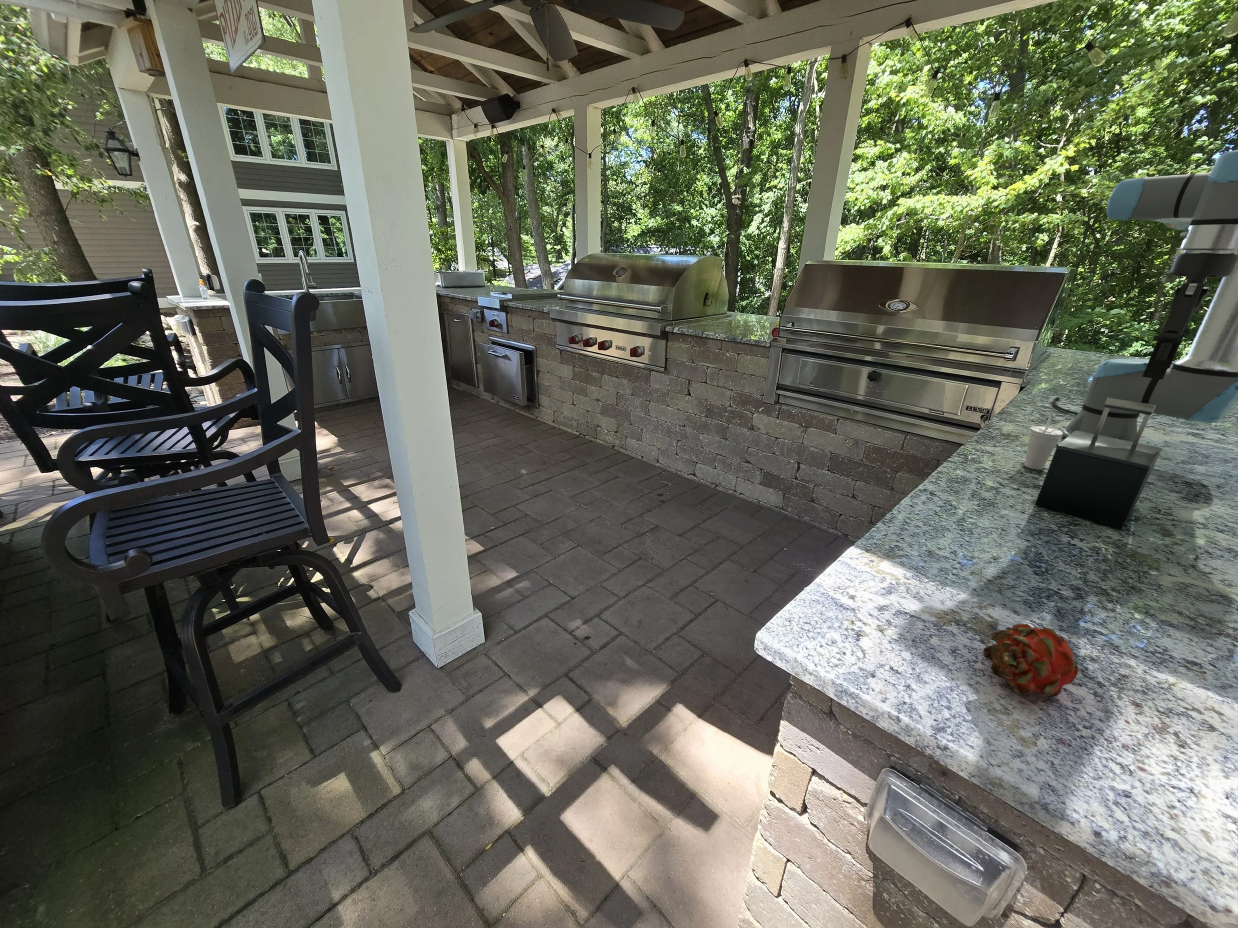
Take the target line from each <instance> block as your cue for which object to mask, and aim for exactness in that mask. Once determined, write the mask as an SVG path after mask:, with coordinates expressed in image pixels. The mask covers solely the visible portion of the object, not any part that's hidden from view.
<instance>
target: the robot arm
mask: <svg viewBox="0 0 1238 928" xmlns="http://www.w3.org/2000/svg"><path fill="white" fill-rule="evenodd" d="M1107 202H1108V203H1107V206H1106V218H1108V219H1109V220H1112V221H1124V222H1125V221H1139V220H1141V221H1150V222H1158V223H1162V224H1163V225H1164V226H1166V227H1167V228H1170V229H1172V230H1177V231H1182V232H1181V233H1180V234H1179V237H1180V238H1182V239H1183V238H1184V239H1183V240H1182V241H1181V245H1180V247H1179V249H1180V250H1181V251H1182V253H1178V255H1176V256H1175V258H1174V261H1173V263H1172V265H1171V268H1170V269H1169V275H1170V276H1174V277H1187V278H1186V281H1185V282H1182V284H1181V285H1180V286H1176V289H1175V291H1174V294H1173V299H1172V301H1171V303H1170V306H1169V310H1170V312H1169V316H1168V317H1167V319H1166V321H1165V324H1164V326H1163V328H1162V331H1161V332H1160V333H1159V334H1158V335H1154V336H1153V337H1152V341H1153V342H1155V345H1154V348H1153V350H1152V353H1151V355H1150V358H1113V359H1112V358H1111V359H1106V360H1104V361H1102V362H1101V363H1099V365H1098V366H1097V368H1096V370H1095V373H1094V375H1092V380H1091V383H1090V385H1089V388H1088V390H1087V393H1086V396H1085V399H1084V401H1083V404H1082V407H1081V409H1080V410H1079V412H1076V411H1073V410H1069V409H1066V408H1064V407H1061V406H1059V405H1058V404H1057V403H1056V402H1057V401H1060V396H1055V398H1053V400H1052V403H1051V404H1052V405H1053V407H1055V408H1056V409H1058V410H1060V411H1062V412H1065V413H1067V414H1071V415H1075V416H1074V418H1072V420H1071V421H1070V422H1069V423H1068V424H1067V425H1066V427H1065V428H1064V431H1063V435H1062V437H1064V439H1066V438H1067V437H1068V436H1069V435H1070V434H1072V433H1073V432H1074V431H1075V430H1076V431H1081V432H1086V433H1091V434H1094V433H1095V431H1096V428H1097V426H1098V423H1099V421H1100V418H1101V416H1102V414H1103V411H1104V409H1105V407H1104V405H1105V403H1106V400H1107V399H1108V398H1113V399H1119V400H1126V401H1132V402H1138V403H1144V404H1150V405H1156V407H1155V409H1154V411H1153V413H1152V415H1160V416H1165V417H1171V418H1175V419H1176V418H1177V419H1181V420H1186V421H1187V422H1196V423H1198V422H1199V423H1203V424H1213V423H1217V422H1218V421H1220V420H1221V419H1223V418H1224V416H1225V415H1226V414H1227V413H1228V411H1230V409H1231V408H1232V407H1233V405H1235V403H1236V402H1237V401H1238V149H1236V150H1231V151H1227V152H1224V153H1222V154H1221V155H1220V156H1219V157H1217V159H1216V161H1215V163H1214V165H1213V167H1212V168H1211V171H1210V172H1209V171H1207V172H1198V173H1190V174H1189V173H1188V174H1174V175H1159V176H1146V177H1145V176H1139V177H1136V178H1127V179H1123V180H1121V181H1120V182H1119V183H1118V184H1116V185H1115V186H1114V188H1113V190H1112V192H1111V194H1110V196H1109V198H1108V201H1107ZM1208 278H1221V280H1220V282H1219V285H1218V286H1217V289H1216V291H1215V293H1214V295H1213V297H1212V299H1211V302H1210V304H1209V306H1208V308H1207V311H1206V312H1205V315H1204V316H1203V319H1202V320H1201V324H1200V326H1199V328H1198V330H1197V332H1196V334H1195V337H1194V339H1193V341H1192V343H1191V345H1190V347H1189V350H1188V351H1187V354H1186V355H1185V356H1184V357H1182V358H1180V359H1177V360H1175V361H1174V359H1175V357H1176V355H1177V352H1178V350H1179V348H1180V346H1181V343H1182V341H1183V339H1184V336H1185V335H1190V333H1191V332H1192V328H1188V327H1190V326H1189V323H1190V321H1191V318H1192V316H1193V315H1194V312H1197V311H1198V309H1200V306H1201V304H1202V301H1203V300H1204V299H1205V298H1206V297H1207V294H1208V293H1209V290H1210V287H1205V286H1207V284H1208V280H1207V279H1208ZM1172 363H1173V364H1172ZM1171 366H1172V367H1171ZM1139 416H1140V413H1135V412H1129V411H1123V410H1117V409H1111V408H1110V409H1109V412H1108V414H1107V416H1106V419H1105V421H1104V424H1103V426H1102V429H1101V431H1100V434H1099V435H1101V436H1106V437H1111V438H1116V439H1120V440H1125V441H1130V442H1133V441H1134V439H1135V437H1136V434H1137V432H1138V419H1139Z"/></svg>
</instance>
